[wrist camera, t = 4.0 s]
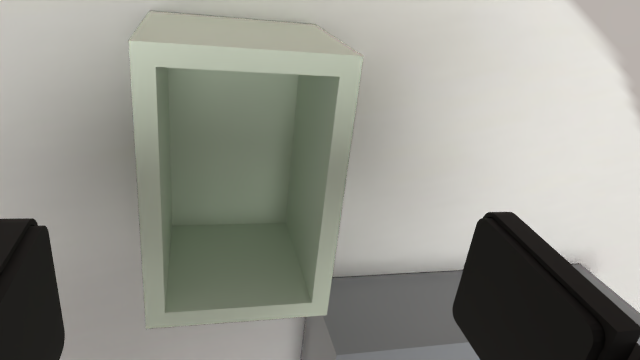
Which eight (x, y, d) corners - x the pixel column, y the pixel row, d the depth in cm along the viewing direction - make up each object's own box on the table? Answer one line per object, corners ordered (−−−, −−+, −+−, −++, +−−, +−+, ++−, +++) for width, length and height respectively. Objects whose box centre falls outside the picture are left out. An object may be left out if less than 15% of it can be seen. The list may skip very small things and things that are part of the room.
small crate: (295, 227, 22) (326, 315, 17) (158, 230, 20) (145, 329, 15) (315, 24, 18) (363, 56, 13) (149, 11, 17) (128, 40, 12)
